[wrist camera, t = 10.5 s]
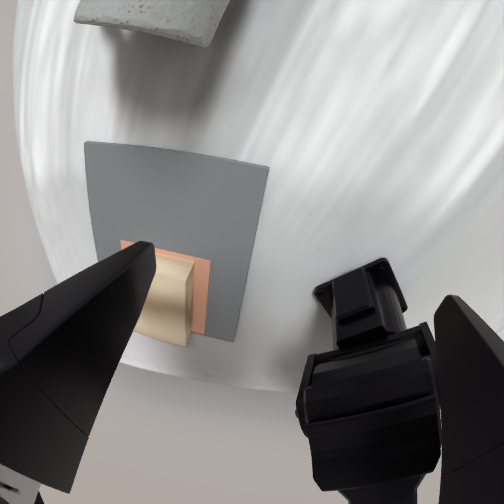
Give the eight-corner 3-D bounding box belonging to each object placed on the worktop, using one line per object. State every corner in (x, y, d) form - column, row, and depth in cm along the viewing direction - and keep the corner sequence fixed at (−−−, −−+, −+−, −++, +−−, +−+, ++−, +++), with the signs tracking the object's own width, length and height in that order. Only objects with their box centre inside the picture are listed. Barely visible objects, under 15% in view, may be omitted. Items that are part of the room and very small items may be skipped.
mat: (269, 167, 19) (268, 169, 18) (234, 339, 29) (233, 343, 29) (87, 141, 19) (83, 143, 18) (110, 305, 29) (108, 308, 29)
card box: (192, 328, 28) (185, 346, 26) (141, 314, 28) (132, 331, 26) (194, 261, 23) (185, 281, 21) (133, 247, 23) (120, 264, 22)
